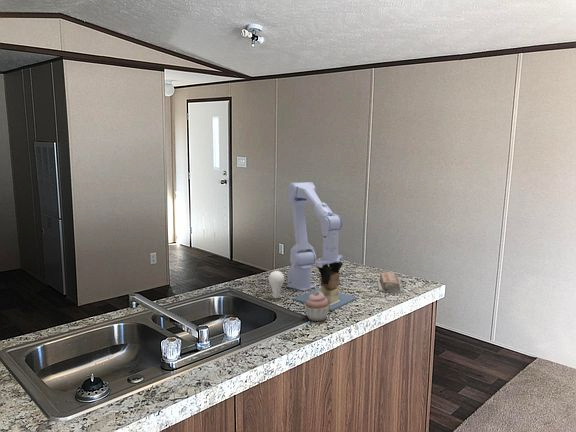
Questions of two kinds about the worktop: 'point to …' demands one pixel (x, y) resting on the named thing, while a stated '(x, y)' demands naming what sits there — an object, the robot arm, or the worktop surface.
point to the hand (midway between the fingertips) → (329, 282)
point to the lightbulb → (276, 283)
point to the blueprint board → (342, 301)
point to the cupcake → (317, 306)
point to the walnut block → (332, 280)
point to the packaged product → (389, 283)
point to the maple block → (330, 294)
